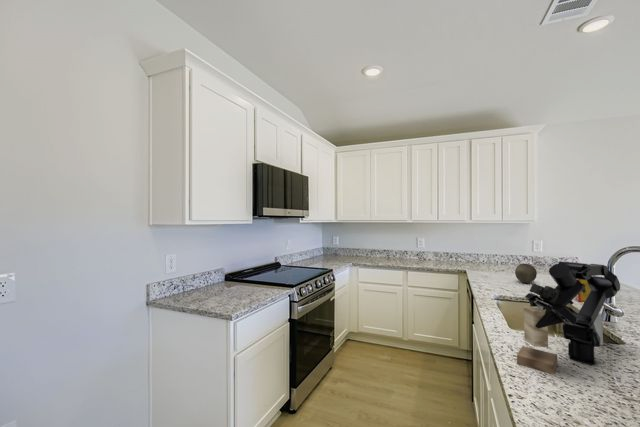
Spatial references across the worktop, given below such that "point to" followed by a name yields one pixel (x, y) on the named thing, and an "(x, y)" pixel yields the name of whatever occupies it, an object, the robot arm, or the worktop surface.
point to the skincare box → (599, 327)
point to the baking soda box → (582, 296)
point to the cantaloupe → (525, 273)
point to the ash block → (531, 332)
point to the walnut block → (537, 359)
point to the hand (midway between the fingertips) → (531, 324)
